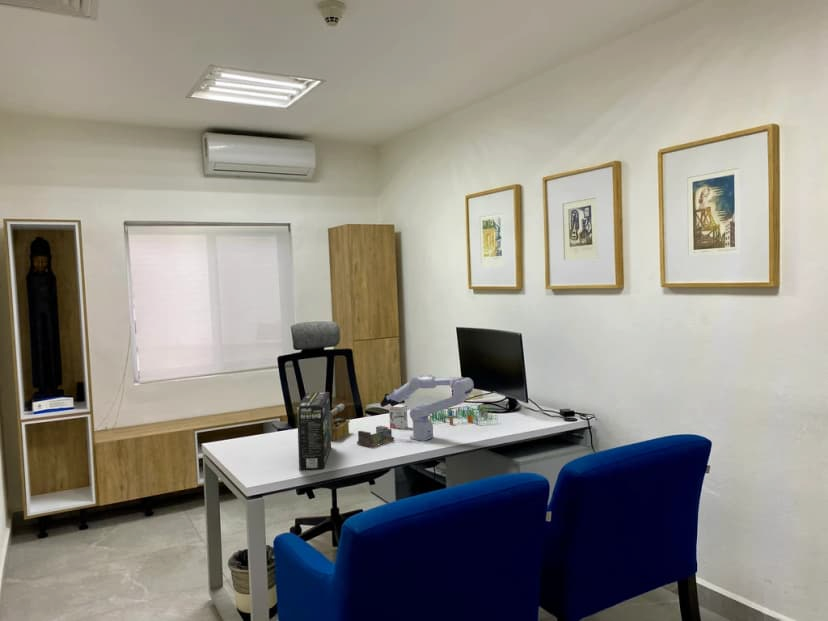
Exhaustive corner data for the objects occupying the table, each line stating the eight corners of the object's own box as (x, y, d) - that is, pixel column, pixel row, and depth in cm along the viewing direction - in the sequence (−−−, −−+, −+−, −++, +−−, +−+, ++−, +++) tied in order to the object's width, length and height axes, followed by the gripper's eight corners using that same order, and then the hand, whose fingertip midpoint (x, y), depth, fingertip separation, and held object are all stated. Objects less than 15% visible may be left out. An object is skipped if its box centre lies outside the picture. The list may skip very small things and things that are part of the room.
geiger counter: (351, 432, 316) (350, 403, 316) (333, 445, 291) (331, 414, 291) (334, 432, 318) (333, 403, 318) (315, 445, 293) (314, 414, 293)
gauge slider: (380, 433, 300) (380, 425, 300) (391, 435, 296) (390, 427, 295) (376, 435, 298) (376, 426, 298) (386, 437, 293) (386, 428, 293)
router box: (325, 469, 254) (322, 405, 252) (298, 471, 253) (295, 406, 252) (332, 446, 289) (329, 390, 288) (308, 447, 289) (306, 391, 287)
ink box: (389, 428, 322) (388, 405, 322) (394, 425, 327) (393, 403, 326) (403, 429, 318) (402, 406, 318) (408, 427, 323) (407, 404, 322)
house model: (478, 412, 354) (478, 404, 353) (503, 423, 326) (503, 414, 326) (421, 419, 341) (421, 411, 341) (442, 430, 314) (442, 421, 314)
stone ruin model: (380, 437, 303) (380, 424, 303) (394, 439, 297) (393, 426, 297) (357, 444, 291) (356, 430, 291) (370, 447, 285) (369, 433, 285)
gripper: (410, 384, 310) (392, 397, 316) (392, 384, 298) (373, 398, 305) (415, 397, 307) (397, 409, 313) (397, 397, 296) (379, 411, 302)
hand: (386, 405), depth 309 cm, fingers open, 7 cm apart
